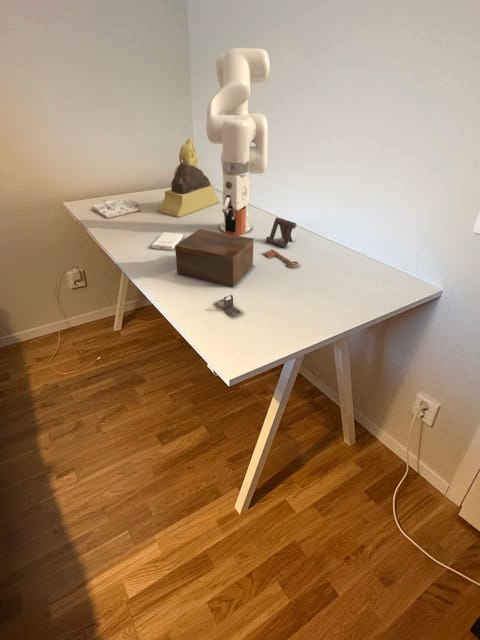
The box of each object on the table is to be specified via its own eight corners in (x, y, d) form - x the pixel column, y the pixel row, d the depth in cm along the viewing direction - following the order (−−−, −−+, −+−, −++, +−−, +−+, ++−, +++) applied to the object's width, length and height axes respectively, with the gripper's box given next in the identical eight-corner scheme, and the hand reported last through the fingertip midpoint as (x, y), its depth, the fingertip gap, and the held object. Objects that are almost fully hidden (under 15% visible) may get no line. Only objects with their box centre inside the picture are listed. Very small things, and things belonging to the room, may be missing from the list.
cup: (230, 227, 125) (230, 202, 120) (248, 230, 123) (249, 205, 118) (221, 234, 120) (221, 208, 115) (240, 237, 118) (241, 211, 113)
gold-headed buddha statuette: (198, 197, 196) (195, 132, 179) (218, 202, 190) (216, 135, 173) (158, 211, 177) (150, 140, 160) (178, 217, 171) (172, 143, 154)
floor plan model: (120, 197, 194) (119, 193, 193) (145, 209, 178) (144, 205, 177) (84, 204, 184) (83, 200, 183) (107, 218, 168) (106, 213, 167)
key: (262, 254, 139) (286, 270, 128) (262, 251, 139) (286, 267, 128) (276, 249, 141) (300, 265, 131) (276, 247, 141) (300, 263, 130)
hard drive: (183, 237, 151) (172, 250, 141) (163, 236, 152) (151, 248, 142) (183, 233, 150) (172, 246, 140) (163, 232, 151) (151, 244, 141)
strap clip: (215, 304, 110) (214, 291, 107) (224, 300, 111) (223, 288, 109) (232, 317, 104) (232, 304, 102) (241, 313, 106) (241, 300, 103)
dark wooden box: (200, 255, 137) (199, 228, 131) (252, 266, 130) (253, 238, 125) (177, 274, 125) (174, 245, 119) (233, 287, 118) (233, 257, 113)
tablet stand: (265, 242, 148) (266, 221, 143) (278, 236, 153) (279, 216, 148) (283, 248, 143) (285, 226, 138) (296, 242, 148) (298, 221, 143)
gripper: (235, 175, 102) (234, 239, 112) (258, 163, 116) (256, 220, 126) (210, 172, 105) (212, 234, 115) (236, 160, 118) (235, 217, 128)
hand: (235, 227), depth 120 cm, fingers closed on cup, 6 cm apart
